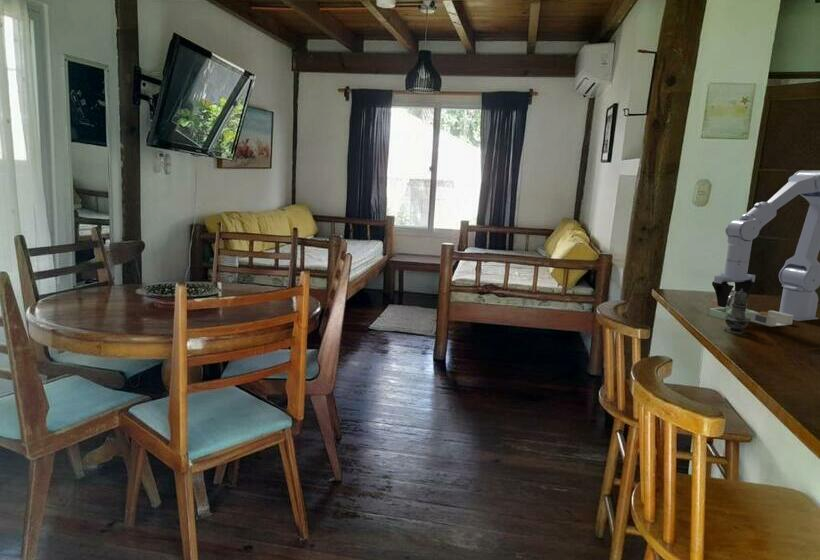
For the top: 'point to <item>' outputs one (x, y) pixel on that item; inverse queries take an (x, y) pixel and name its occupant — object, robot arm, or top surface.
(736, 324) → the grey chess piece
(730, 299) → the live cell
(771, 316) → the cradle
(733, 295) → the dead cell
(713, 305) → the cup
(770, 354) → the top surface
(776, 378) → the top surface
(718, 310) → the trough
